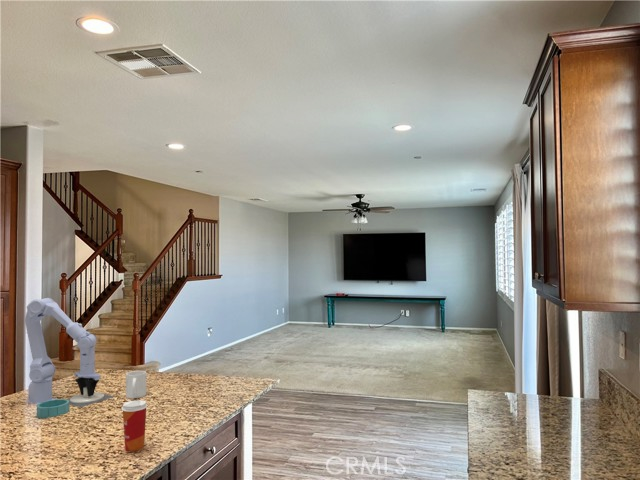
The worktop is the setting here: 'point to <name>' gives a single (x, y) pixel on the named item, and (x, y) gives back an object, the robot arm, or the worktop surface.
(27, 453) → the worktop surface
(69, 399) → the mat
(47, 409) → the bowl
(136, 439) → the paper cup
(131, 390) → the mug
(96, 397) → the lid
